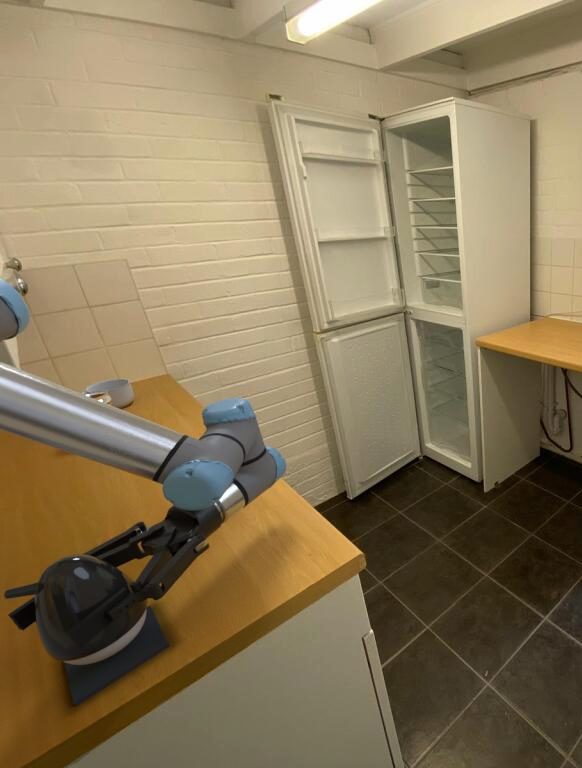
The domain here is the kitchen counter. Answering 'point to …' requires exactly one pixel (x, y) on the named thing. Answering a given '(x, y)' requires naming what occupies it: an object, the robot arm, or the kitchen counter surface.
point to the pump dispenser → (80, 607)
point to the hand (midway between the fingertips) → (43, 631)
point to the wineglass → (100, 396)
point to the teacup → (115, 391)
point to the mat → (116, 661)
